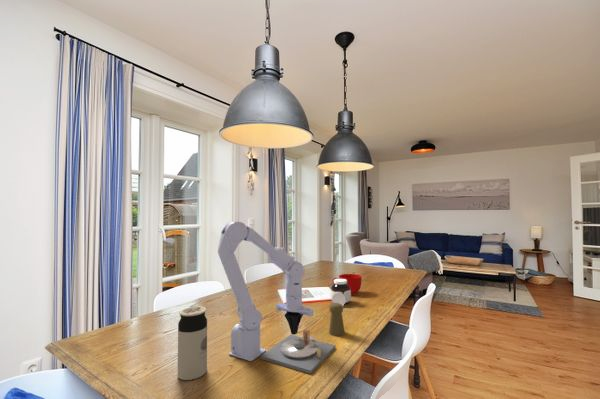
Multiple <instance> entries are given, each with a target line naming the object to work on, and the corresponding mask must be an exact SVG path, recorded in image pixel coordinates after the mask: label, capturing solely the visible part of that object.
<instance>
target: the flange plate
mask: <svg viewBox="0 0 600 399" xmlns="http://www.w3.org/2000/svg"><path fill="white" fill-rule="evenodd" d="M302 334H303V337H302V338H303V339H302V340H304V341H305V347H304V348H295V347H294V341H295V340H297V339H292V340H289V341H286V342H284V343H283V344H282V346H281V352H282V354H283V355H285V356H286V357H289V358H293V359H304V358H309V357H311V356H313V355H315V354H316V353H317V349H318V347H317V344H316V343H315V342H313V340H315V336H312V335H311V333H310V329H304V330H303V331H302Z"/></svg>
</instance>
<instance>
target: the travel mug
mask: <svg viewBox="0 0 600 399" xmlns="http://www.w3.org/2000/svg"><path fill="white" fill-rule="evenodd" d="M206 312H207V308H206V307H205V306H199V305H198V306H197V305H196V306H189V307H186V308H183V309H181V310H179V312H178V314H179V316H180V319H179V321H178V323H177V324H178V325H177V378H178V379H180V380H182V381H183V380H184V381H192V379H193V380H196V379H199V378H201V377H202V376H204V375H205V374H206V373H207V371H208V318H207V316H206Z"/></svg>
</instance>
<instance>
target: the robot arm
mask: <svg viewBox="0 0 600 399" xmlns="http://www.w3.org/2000/svg"><path fill="white" fill-rule="evenodd" d="M242 241H246V242H251V243H252V244H254V245H255V246H256V247H258V248H259V249H260V250H262V251H263V252H264V253H265V254H267V256H268V260H269V261H270V262H271V263H272V264H274V265H275V266H276V267H277V268H279V269H280V270H281V271H282V272H283V273H284V274H285V303H280V302H279V303H277V304H275V311H283V312H286V313H285V314H284V318H285V320H286V321H287V323H288V326H289V329H290V330H289V331H290V335H294V336H296V335H297V334H298V332H299V327H300V322H301V321H302V318H303V316H304V315H306V316H308V317H312V316H313V315H314V309H313V308H309V307H306V306H304V305H303V298H302V297H303V296H302V295H303V289H302V287H303V284H302V283H303V282H302V278H303V275H304V273H305V268H304V266H303V264H302V263H301V262H299V261H297V260H295V259H296V257H295V256H293V255H292V256H291V255H290V254H288V253H287V252H286V248H284V247H281V246H276V247H274V246H273V245H272V244H271V243H269V241H267V240H266V239H265V238H264V237H263V236H261V234H260V233H258V232H257V231H256V230H255V229H253V228H251V227H250V226H248V225H246V224H245V223H243V221H233V220H232V221H229V222H227V223H226V224H225V225H224V227H223V228H222V230H221V232H220V237H219V243H218V247H217V254H218V257H219V259H220V262H221V264H222V267H223V270H224V272H225V275H226V278H227V281H228V283H229V284H230V289H231V290H232V293H233V296H234V299H235V301H236V302H235V303H236V306H237V312H236V313H237V317H238V318H239V319H240V321H238V322H239V323H236V324H235V325H234V326H233V328H232V329H231V333H230V352H229V354H228V355H230V356H233V357H236V358H239V359H242V360H246V361H249V362H252V361H254V360H255V359H256V358H258V357H260V356H261V355H263V354H264V353H265V352H267V349H265V348H262V347H261V324H262V321H263V315H262V313H261V311H260V310H259V309H257V308H256V305H255V303H254V300H253V298H252V297H251V294H250V292H249V289H248V286H247V284H246V282H245V278H244V275H243V273H242V270H241V268H240V266H239V262H238V260H237V256H236V255H235V253H236V250H237V248H238V246H239V245H240V243H241V242H242Z"/></svg>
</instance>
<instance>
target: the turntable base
mask: <svg viewBox="0 0 600 399" xmlns="http://www.w3.org/2000/svg"><path fill="white" fill-rule="evenodd" d="M292 339H297V340H295V341H294V347H295V348H304V347H305V341H304V340H302V339H303V337H301V336H298V335H293V334H289V336H287V337H285V338H284V339H282V340H281V341H280V342H278V343H277V344H275V345H274V346H273V347H271V348H269V349H268V350H266V351H265V352H264V353H262V354H261V355H260V360H263V361H266V362H269V363H272V364H276V365H279V366H283V367H286V368H289V369H293V370H296V371H298V372H302V373H305V374H308V375H312V373H314V372H315V370H316V369H317V368H318V367H319V366H320V365H321V364H322V363H323V362H324V361H325V360H326V359H327V358H328V357H329V355H331V354H332V352H334V351H335V349H336V344H332V343H328V342H324V341H319V340H315V339H314V340H313V342H315V343H316V344H317V347H318V349H317V353H316V354H315V355H313V356H311V357H309V358H304V359H293V358H289V357H286V356H285V355H283V354H282V352H281V346H282V344H283V343H284V342H286V341H289V340H292Z"/></svg>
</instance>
